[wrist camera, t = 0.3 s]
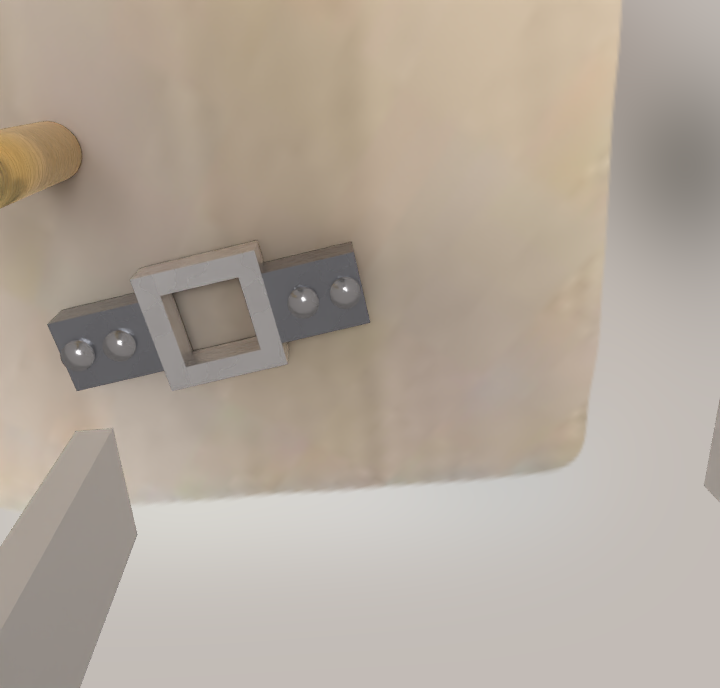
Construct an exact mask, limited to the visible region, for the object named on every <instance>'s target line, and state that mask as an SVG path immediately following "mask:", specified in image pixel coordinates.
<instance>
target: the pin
mask: <svg viewBox="0 0 720 688" xmlns="http://www.w3.org/2000/svg"><path fill="white" fill-rule="evenodd" d="M81 158H82V155H81V148H80V145H79V143H78V141H77V139H76V137H75V136H74V135H73V134H72V133H71V132H70V131H69V130H68V129H67V128H65V127H64V126H62V125H60V124H58V123H55V122H49V121H43V122H37V123H32V124H26V125H21V126H15V127H10V128H4V129H0V208H2V207H5V206H7V205H9V204H11V203H14V202H16V201H18V200H21V199H23V198H25V197H27V196H30V195H32V194H34V193H37V192H39V191H41V190H44V189H46V188H48V187H50V186H53V185H55V184H57V183H60V182H62V181H64V180H66V179H69V178H70V177H72V176H73V175H74V174H75V173H76V172H77V171H78V169H79V167H80V164H81Z"/></svg>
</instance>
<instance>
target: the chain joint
mask: <svg viewBox="0 0 720 688" xmlns="http://www.w3.org/2000/svg"><path fill="white" fill-rule="evenodd" d="M234 278H239V281H240V284H241V287H242V291H243V294H244V297H245V300H246V303H247V307H248V310H249V313H250V316H251V320H252V323H253V326H254V329H255V333H256V337H252V338H248V339H243V340H239V341H235V342H230V343H226V344H222V345H218V346H213V347H209V348H205V349H201V350H196V351H192V348H191V345H190V342H189V340H188V337H187V334H186V331H185V328H184V326H183V323H182V320H181V317H180V314H179V311H178V309H177V306H176V303H175V300H174V297H173V295H172V293H174V292H179V291H183V290H187V289H191V288H196V287H200V286H204V285H208V284H213V283H217V282H221V281H225V280H230V279H234ZM130 282H131V284H132V287H133V289H134V292H135V293H133V294H128V295H124V296H120V297H116V298H111V299H107V300H103V301H99V302H95V303H90V304H86V305H82V306H78V307H73V308H69V309H65V310H62V311H61V312H60V313H59V314H57V315H56V316H55V317H54V318H53V319H52V320H51V321H50V322H49V323H48V324H47V325H48V327H49V329H50V332H51V334H52V336H53V338H54V341H55V343H56V345H57V347H58V350H59V352H60V356H61V360H62V362H63V364H64V365H65V366H66V368H67V370H68V372H69V374H70V377H71V379H72V381H73V383H74V386H75V388H76V390H77V391H79V390H84V389H88V388H92V387H96V386H101V385H105V384H109V383H113V382H118V381H122V380H126V379H131V378H135V377H139V376H143V375H148V374H152V373H156V372H161V371H165V374H166V376H167V379H168V382H169V384H170V387H171V390H172V391H174V390H178V389H183V388H187V387H191V386H196V385H200V384H204V383H209V382H213V381H217V380H221V379H226V378H230V377H234V376H239V375H243V374H247V373H252V372H256V371H260V370H264V369H269V368H273V367H277V366H282V365H286V364H288V354H289V347H288V343H287V342H289V341H293V340H298V339H302V338H306V337H311V336H315V335H319V334H323V333H328V332H332V331H336V330H340V329H345V328H349V327H353V326H358V325H362V324H366V323H370V320H369V315H368V311H367V307H366V302H365V298H364V294H363V290H362V285H361V281H360V277H359V272H358V268H357V264H356V259H355V255H354V251H353V247H352V242H348V243H344V244H340V245H336V246H332V247H327V248H323V249H319V250H315V251H310V252H306V253H302V254H298V255H293V256H289V257H285V258H281V259H277V260H272V261H268V262H264V261H263V257H262V254H261V251H260V247H259V244H258V240H256V241H252V242H248V243H244V244H239V245H235V246H231V247H227V248H222V249H218V250H214V251H210V252H206V253H201V254H197V255H193V256H189V257H184V258H180V259H176V260H172V261H168V262H163V263H159V264H155V265H151V266H147V267H142V268H140V269H139V270H138V271H137V272H136V273H135V274H134V276H133V277H132V278H131V279H130Z"/></svg>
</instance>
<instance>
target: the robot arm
mask: <svg viewBox="0 0 720 688" xmlns="http://www.w3.org/2000/svg"><path fill="white" fill-rule="evenodd" d="M704 486H705V487H706V488H707V489H708V490H709V491H710V492H711V494H713V496H714V497H715V498H716V499H717V500H718V501H719V502H720V401H719V407H718V412H717V417H716V423H715V428H714V433H713V439H712V444H711V450H710V456H709V461H708V467H707V472H706V478H705V483H704ZM136 537H137V531H136V526H135V522H134V518H133V513H132V509H131V505H130V500H129V496H128V492H127V487H126V483H125V478H124V474H123V470H122V465H121V461H120V457H119V452H118V448H117V444H116V439H115V435H114V430H113V428H110V429H97V430H84V431H76V432H75V433H74V435H73V436H72V438H71V439H70V441H69V442H68V444H67V445H66V447H65V448H64V450H63V451H62V453H61V455H60V456H59V458H58V459H57V461H56V462H55V464H54V465H53V467H52V468H51V470H50V471H49V473H48V474H47V476H46V477H45V479H44V481H43V482H42V484H41V485H40V487H39V488H38V490H37V491H36V493H35V494H34V496H33V497H32V499H31V500H30V502H29V503H28V505H27V507H26V508H25V510H24V511H23V513H22V514H21V516H20V517H19V519H18V520H17V522H16V523H15V525H14V526H13V528H12V529H11V531H10V533H9V534H8V536H7V537H6V539H5V540H4V542H3V543H2V545H1V546H0V688H80V686H81V684H82V681H83V678H84V676H85V673H86V670H87V668H88V665H89V662H90V660H91V657H92V654H93V652H94V649H95V646H96V643H97V641H98V638H99V635H100V633H101V630H102V628H103V625H104V622H105V620H106V617H107V614H108V612H109V609H110V606H111V603H112V601H113V598H114V596H115V593H116V590H117V588H118V585H119V582H120V580H121V577H122V574H123V572H124V569H125V566H126V564H127V561H128V558H129V556H130V553H131V550H132V548H133V545H134V542H135V539H136Z"/></svg>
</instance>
